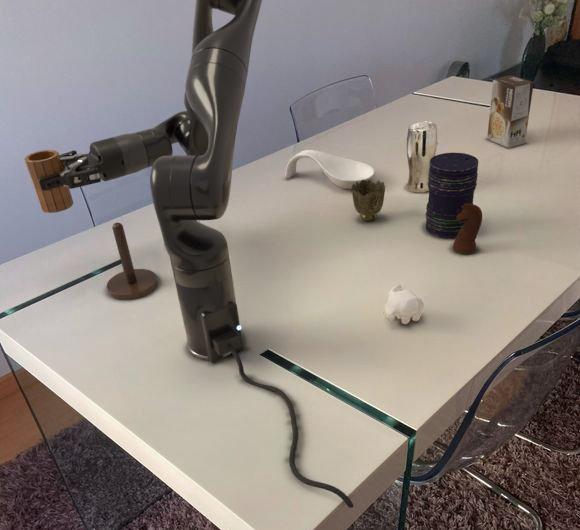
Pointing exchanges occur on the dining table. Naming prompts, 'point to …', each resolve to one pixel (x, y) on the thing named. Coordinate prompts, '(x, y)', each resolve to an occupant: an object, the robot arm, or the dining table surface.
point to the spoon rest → (334, 168)
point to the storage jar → (449, 192)
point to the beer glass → (420, 154)
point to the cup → (368, 198)
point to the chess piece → (468, 229)
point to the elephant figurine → (403, 305)
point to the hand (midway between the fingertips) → (35, 180)
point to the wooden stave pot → (42, 167)
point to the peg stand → (129, 273)
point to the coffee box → (509, 110)
